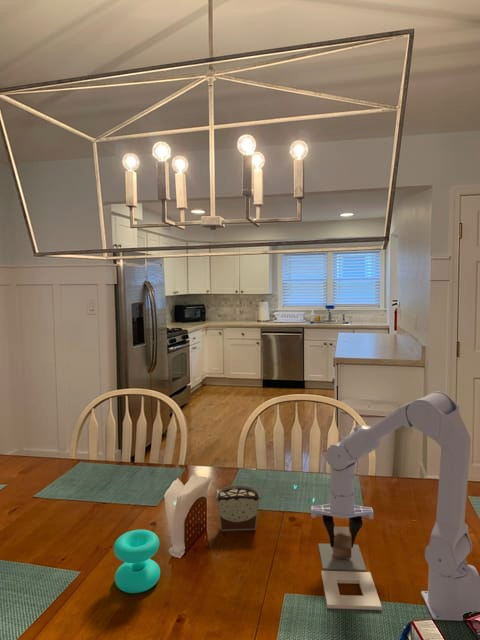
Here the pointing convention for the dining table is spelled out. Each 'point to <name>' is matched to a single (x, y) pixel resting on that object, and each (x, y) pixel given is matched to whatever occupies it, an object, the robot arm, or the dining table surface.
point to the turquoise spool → (137, 561)
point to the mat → (341, 559)
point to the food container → (238, 507)
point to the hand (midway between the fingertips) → (341, 545)
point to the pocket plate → (349, 601)
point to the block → (342, 542)
